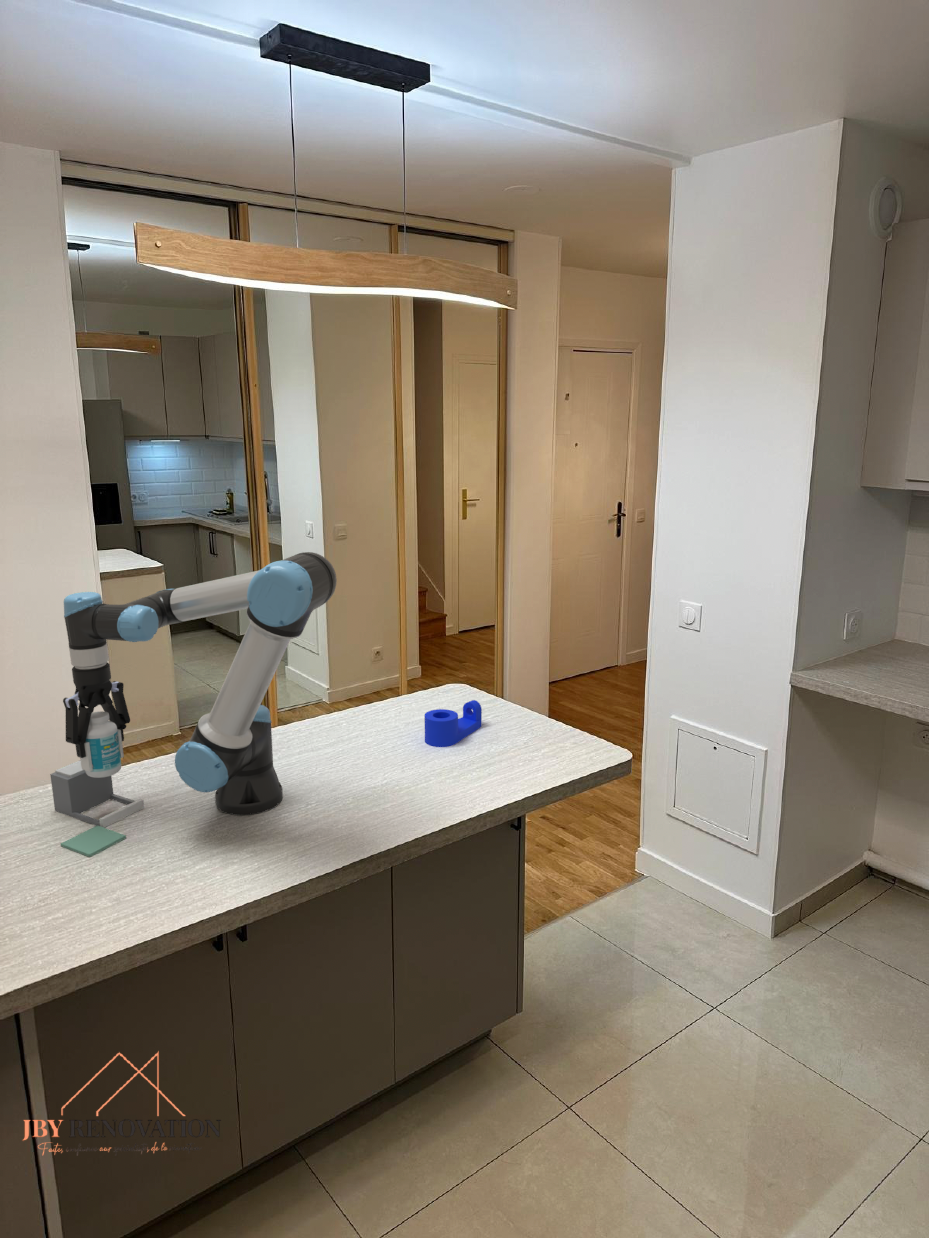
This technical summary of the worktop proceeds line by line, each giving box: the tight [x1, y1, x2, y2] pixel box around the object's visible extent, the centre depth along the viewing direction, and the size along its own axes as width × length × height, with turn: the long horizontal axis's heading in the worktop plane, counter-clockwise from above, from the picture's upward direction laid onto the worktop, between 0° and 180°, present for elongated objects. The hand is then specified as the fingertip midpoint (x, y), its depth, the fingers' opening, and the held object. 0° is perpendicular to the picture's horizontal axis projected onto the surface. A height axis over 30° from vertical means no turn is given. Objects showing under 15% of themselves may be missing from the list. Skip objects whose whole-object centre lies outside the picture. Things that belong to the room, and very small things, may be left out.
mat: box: [60, 825, 127, 858], centre depth 179 cm, size 9×9×1 cm
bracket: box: [424, 699, 483, 748], centre depth 236 cm, size 20×9×8 cm, turn 142°
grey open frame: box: [49, 760, 145, 828], centre depth 192 cm, size 16×11×10 cm
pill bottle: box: [85, 710, 122, 778], centre depth 188 cm, size 8×7×14 cm
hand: (103, 762), depth 189 cm, fingers closed on pill bottle, 7 cm apart
